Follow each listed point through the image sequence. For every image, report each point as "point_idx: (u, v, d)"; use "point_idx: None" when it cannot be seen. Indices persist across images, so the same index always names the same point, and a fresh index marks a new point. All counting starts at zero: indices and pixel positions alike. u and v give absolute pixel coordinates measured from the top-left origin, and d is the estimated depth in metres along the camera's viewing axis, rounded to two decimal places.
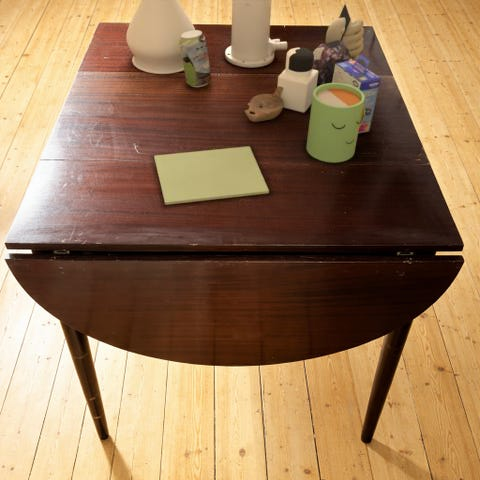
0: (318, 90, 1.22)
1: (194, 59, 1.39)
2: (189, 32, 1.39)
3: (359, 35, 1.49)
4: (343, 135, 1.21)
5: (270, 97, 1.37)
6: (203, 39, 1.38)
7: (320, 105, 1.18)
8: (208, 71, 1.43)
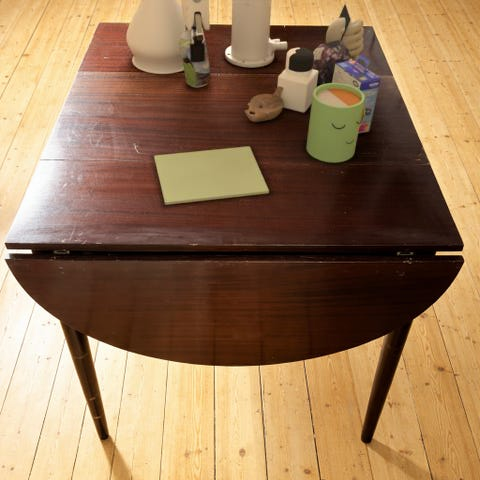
0: (318, 90, 1.22)
1: None
2: (189, 32, 1.39)
3: (359, 35, 1.49)
4: (343, 135, 1.21)
5: (270, 97, 1.37)
6: None
7: (320, 105, 1.18)
8: (208, 71, 1.43)
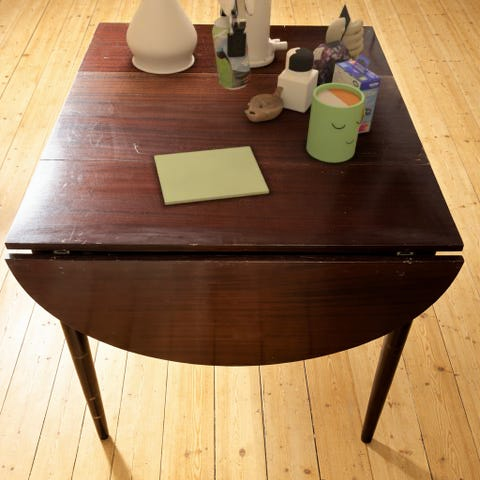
0: (318, 90, 1.22)
1: None
2: (225, 19, 1.08)
3: (359, 35, 1.49)
4: (343, 135, 1.21)
5: (270, 97, 1.37)
6: None
7: (320, 105, 1.18)
8: (248, 69, 1.11)
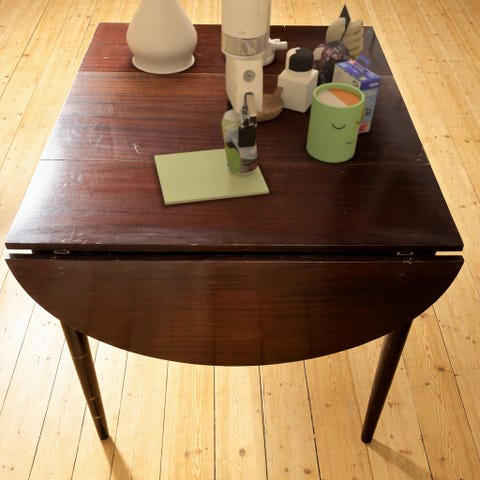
0: (318, 90, 1.22)
1: None
2: (233, 112, 1.14)
3: (359, 35, 1.49)
4: (343, 135, 1.21)
5: (270, 97, 1.37)
6: None
7: (320, 105, 1.18)
8: (255, 156, 1.18)
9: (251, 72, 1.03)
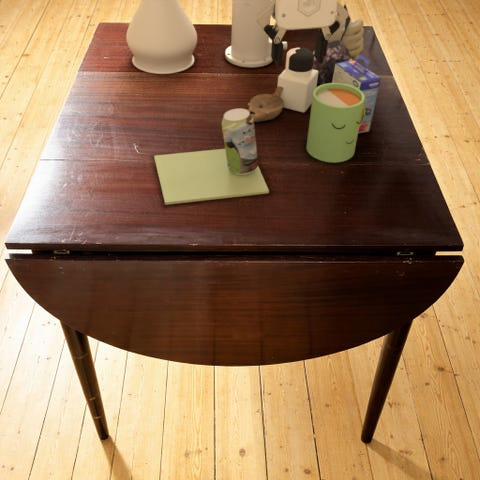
0: (318, 90, 1.22)
1: (239, 145, 1.14)
2: (233, 112, 1.14)
3: (359, 35, 1.49)
4: (343, 135, 1.21)
5: (270, 97, 1.37)
6: (251, 121, 1.13)
7: (320, 105, 1.18)
8: (255, 156, 1.18)
9: None
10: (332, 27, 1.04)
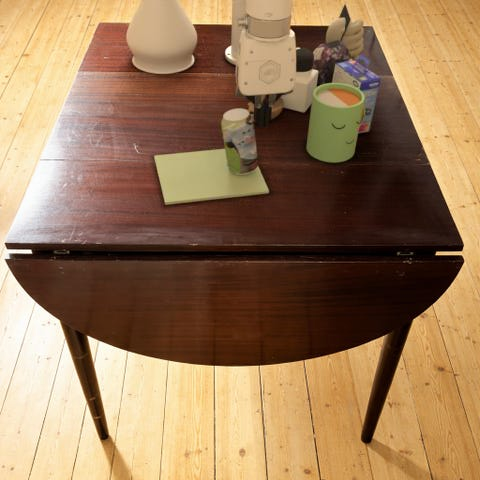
0: (318, 90, 1.22)
1: (239, 145, 1.14)
2: (233, 112, 1.14)
3: (359, 35, 1.49)
4: (343, 135, 1.21)
5: None
6: (251, 121, 1.13)
7: (320, 105, 1.18)
8: (255, 156, 1.18)
9: None
10: None
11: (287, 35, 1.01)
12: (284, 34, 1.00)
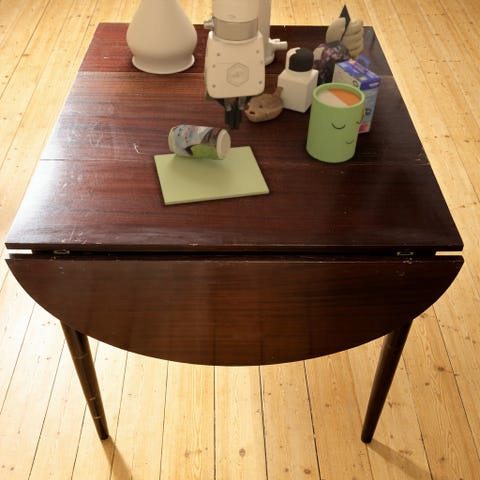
0: (318, 90, 1.22)
1: (187, 142, 1.19)
2: None
3: (359, 35, 1.49)
4: (343, 135, 1.21)
5: (270, 97, 1.37)
6: (177, 126, 1.21)
7: (320, 105, 1.18)
8: (209, 129, 1.18)
9: None
10: None
11: (254, 37, 1.00)
12: (251, 36, 0.99)
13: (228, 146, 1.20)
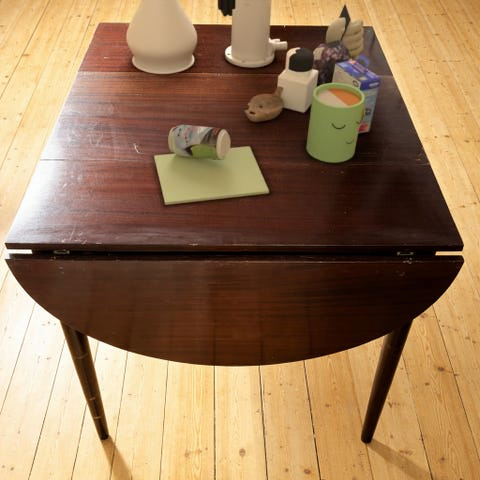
0: (318, 90, 1.22)
1: (187, 142, 1.19)
2: None
3: (359, 35, 1.49)
4: (343, 135, 1.21)
5: (270, 97, 1.37)
6: (177, 126, 1.21)
7: (320, 105, 1.18)
8: (209, 129, 1.18)
9: None
10: None
11: None
12: None
13: (228, 146, 1.20)
